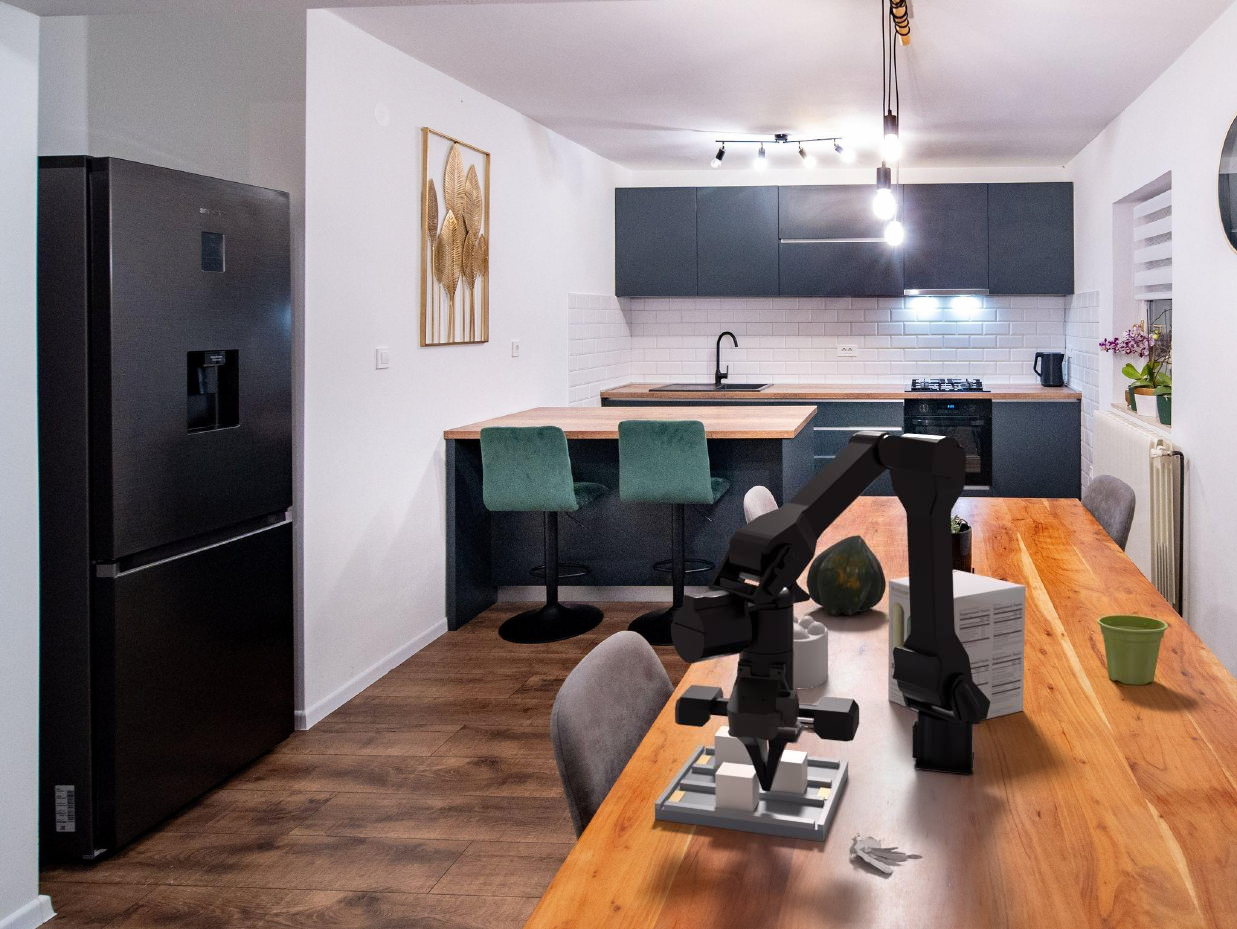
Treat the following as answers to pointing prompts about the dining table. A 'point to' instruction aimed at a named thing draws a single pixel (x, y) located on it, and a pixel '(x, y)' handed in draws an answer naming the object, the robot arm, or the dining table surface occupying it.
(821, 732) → the robot arm
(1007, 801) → the dining table surface
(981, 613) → the supplement box
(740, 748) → the white block
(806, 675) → the lumpy-topped squat cylinder
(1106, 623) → the plant pot
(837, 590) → the squash
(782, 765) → the beige block
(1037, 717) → the dining table surface
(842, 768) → the grey tray
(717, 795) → the beige block
